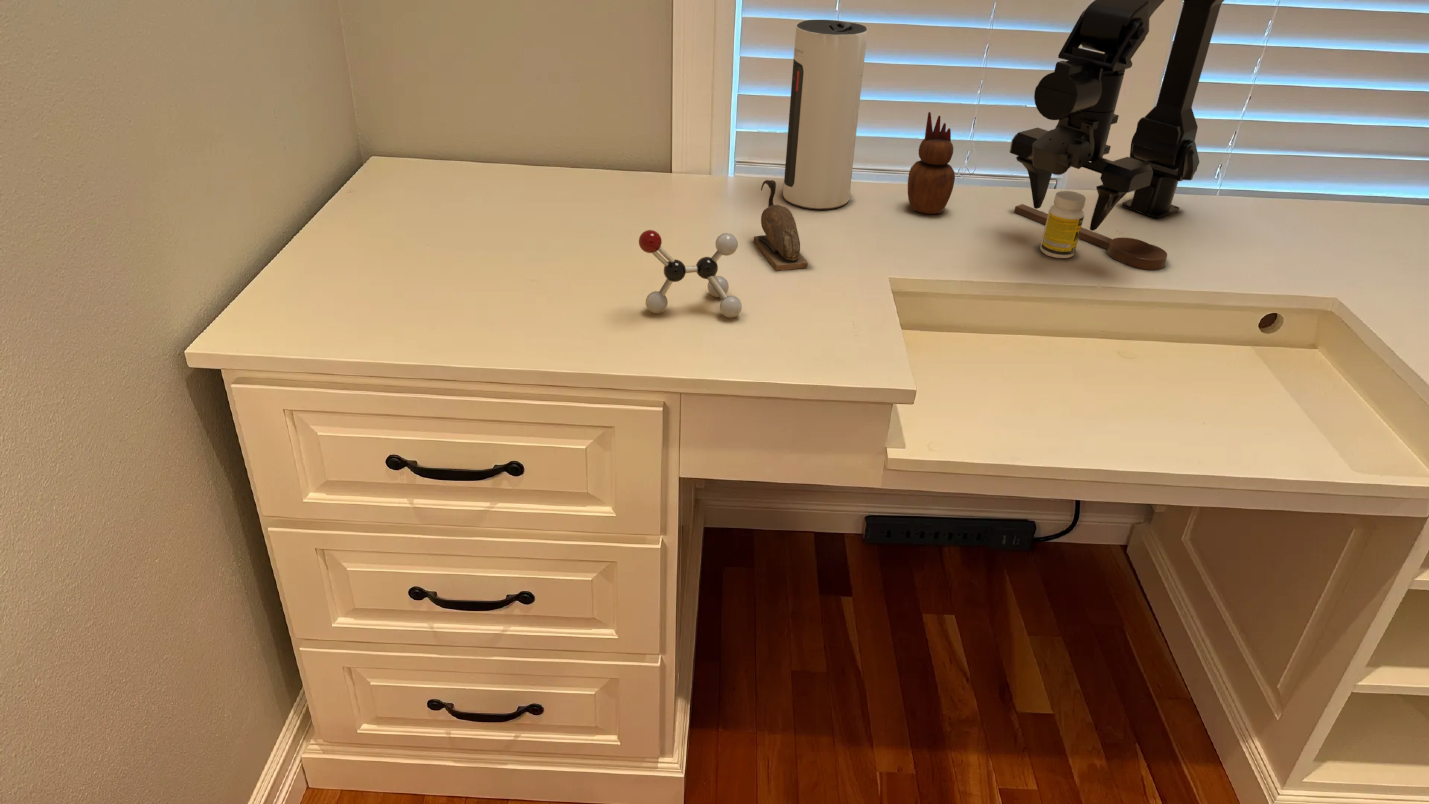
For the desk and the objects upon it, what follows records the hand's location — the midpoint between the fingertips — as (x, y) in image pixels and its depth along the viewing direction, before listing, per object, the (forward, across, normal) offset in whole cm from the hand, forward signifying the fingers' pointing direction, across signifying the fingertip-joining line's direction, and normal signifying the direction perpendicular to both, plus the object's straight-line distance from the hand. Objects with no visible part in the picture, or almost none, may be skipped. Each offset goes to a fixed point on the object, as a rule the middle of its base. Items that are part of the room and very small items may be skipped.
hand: (1064, 218), depth 137 cm
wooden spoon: (+5, -1, +8) cm, 10 cm away
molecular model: (+5, -15, -54) cm, 56 cm away
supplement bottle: (+5, 0, 0) cm, 5 cm away
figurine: (+5, -23, -33) cm, 40 cm away
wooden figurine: (+5, -21, -4) cm, 22 cm away
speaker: (+5, -34, -15) cm, 37 cm away
